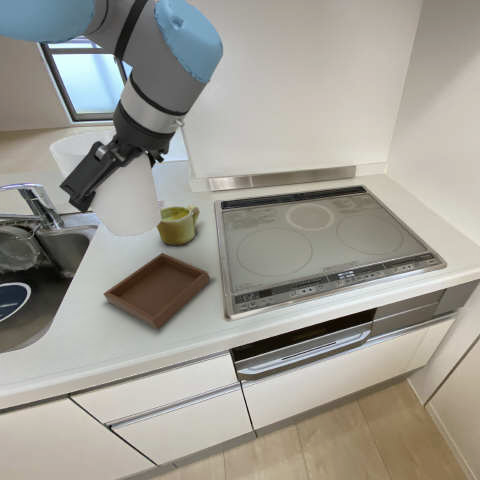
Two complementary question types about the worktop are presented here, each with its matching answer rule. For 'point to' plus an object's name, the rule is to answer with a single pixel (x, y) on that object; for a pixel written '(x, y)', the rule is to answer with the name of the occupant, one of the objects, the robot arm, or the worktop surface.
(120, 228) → the cup
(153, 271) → the tray
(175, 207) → the mug
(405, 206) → the worktop surface
